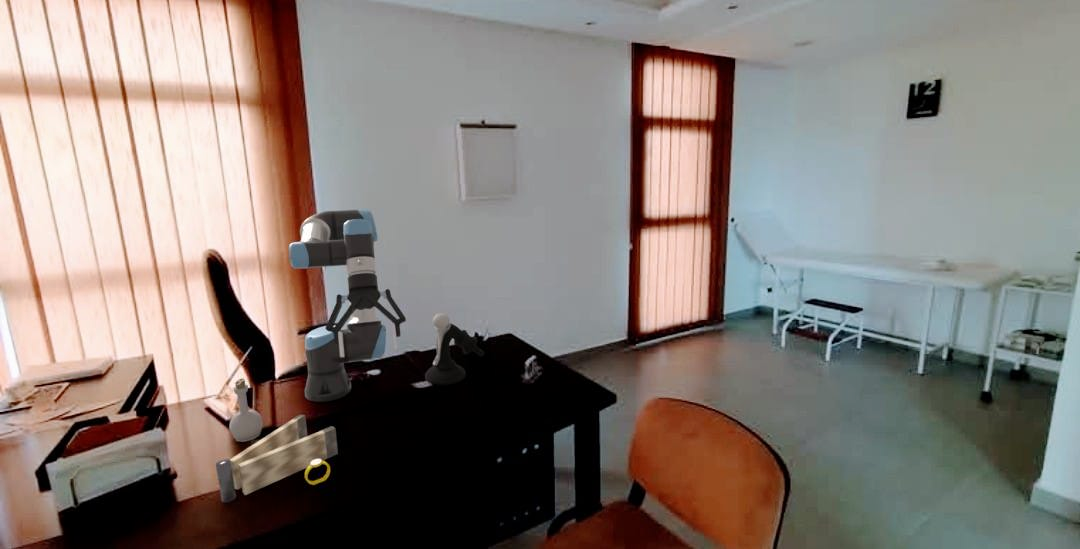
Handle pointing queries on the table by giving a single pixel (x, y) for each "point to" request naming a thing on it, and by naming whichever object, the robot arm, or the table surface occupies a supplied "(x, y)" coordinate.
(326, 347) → the robot arm
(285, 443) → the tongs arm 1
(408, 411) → the table surface
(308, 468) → the gold ring
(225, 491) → the post
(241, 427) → the potion bottle
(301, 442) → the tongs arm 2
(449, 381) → the sculpture
